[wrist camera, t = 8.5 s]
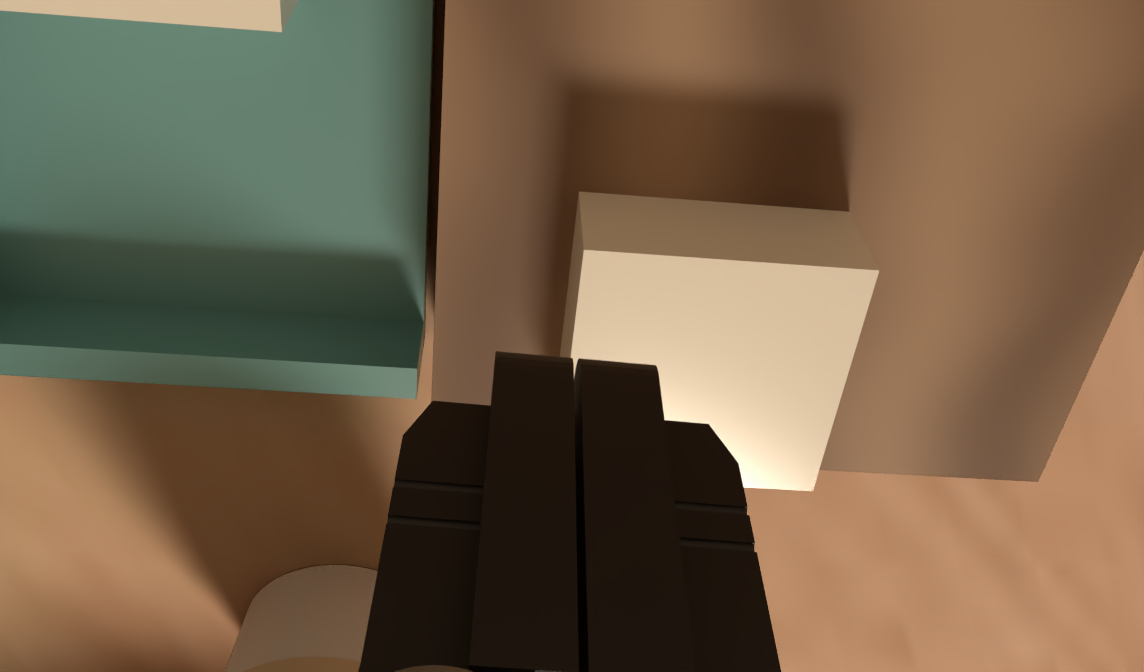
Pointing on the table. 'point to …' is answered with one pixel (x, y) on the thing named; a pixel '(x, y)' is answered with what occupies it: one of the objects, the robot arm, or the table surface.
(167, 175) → the tray
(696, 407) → the tile
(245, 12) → the tile
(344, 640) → the coffee cup
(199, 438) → the table surface
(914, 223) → the walnut board
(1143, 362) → the table surface
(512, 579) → the robot arm
